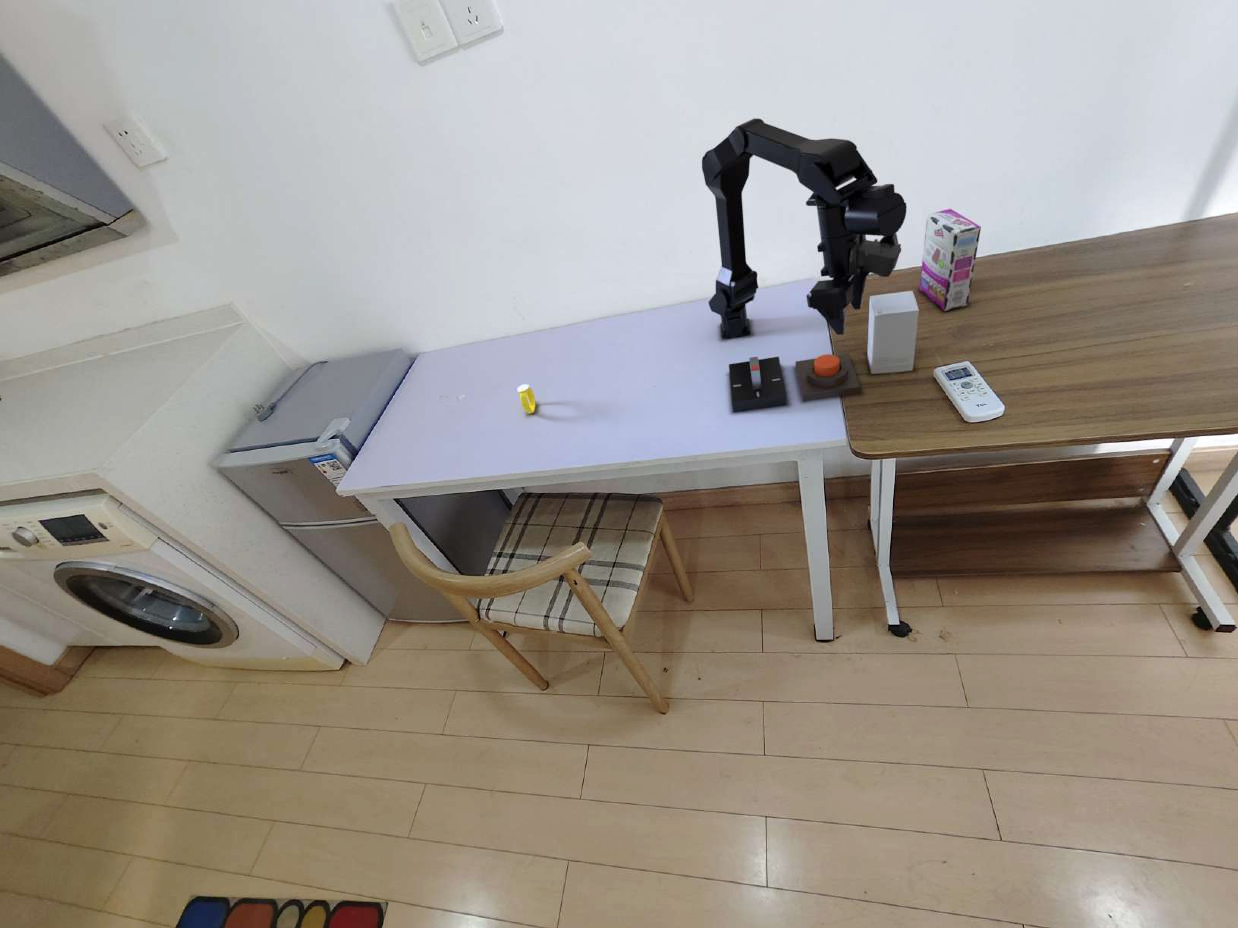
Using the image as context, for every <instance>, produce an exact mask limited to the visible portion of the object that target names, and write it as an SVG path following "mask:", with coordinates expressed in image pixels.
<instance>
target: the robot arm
mask: <svg viewBox="0 0 1238 928" xmlns="http://www.w3.org/2000/svg"><path fill="white" fill-rule="evenodd" d="M753 156H754V157H757V158H760V159H762V160H764V161H767V162H770V163H772V164H774V165H775V166H776V165H777V166H778V167H781V168H784V169H786V170H789V171H790V172H793V173H794V174H795V175H796V177H797V180H798V182H799V184H800V185H802V186H803V187H805V188H806V189H808V190H809V191H811V192H812V193H811V195H810V197H808V198H807V200H806V201H805V205H806V206H807V207H816V213H817V220H818V227H819V235H820V243H818V244H817V246H816V249H817V253H822V258H823V259H822V260H823V267H822V268H821V270H820V277H829V278H830V279H824V280H818V281H817V282H816V283H815V284H814V285H813V287H812V288H811V289H810V291H808V293H807V294H806V302H807V303H806V304H807V307H808V308H810V309H811V308H812V309H813V310H816V311H817V312H818V313H819V314H820V315H821V316H822V317H823V318H824V320H825V321H826V322H827V324H828V325H829V326H830V327H831V329H832V330H833V331H834V333H835V334H836V335H837V336H843V335H844V334H845V330H846V314H847V313H846V312H847V307H848V306H849V305H850V304H851V307H852V308H853V310H856V311H857V310H861V308H862V305H863V298H864V292H865V287H866V281H867V277H868V276H869V275H870V274H875V275H878V276H879V277H882V278H888V277H890V276H891V275H892V272H894V270H895V269H896V266H897V263H898V260H899V257H900V254H901V253H902V244H900V243H899V240H898V235H897V233H898V232H899V230H900V229H901V228H902V226H903V224H904V222H905V220H906V216H907V202H905V199H904V197H903V196H902V195H901V194H900V193H899V192H896V191H895V190H896V189H895V184H894V183H885V184H883V185H876V184H877V183H878V182H879V181H878V178H877V177H876V175H875V173H874V171H873V170H872V169H871V168H870V167H869V165H868V163H867V162H866V160H865V159H864V158H863V156H862V155H861V153H860V152H859V150H858V147H857V145H856V144H855V143H854V142H853V141H851V140H850V139H849V140H848V139H843V138H821V139H810V138H808V137H804V136H802V135H799V134H796V133H794V132H791V131H788V130H785V129H784V128H783V129H782V128H780V127H777V126H775V125H772V124H769V123H766V122H765V121H764V120H763V119H762V118H755V117H753V118H752V119H750V120H747V121H745V122H743V123H741V124H739V125H737V126H735V127H734V129H732V130H731V132H730V133H729V134H728V136H727V137H725V138H724V139H723V140H722V141H720V143H718V144H717V145H716V146H715V147H713V148H711V149H709V150H707V151H706V152H705V153H704V155H703V156H702V159H701V170H702V173H703V174H702V175H703V179H704V184H705V186H706V187H707V188H708V189H709V191H710V192H711V193H712V194H713V196H714V198H715V210H716V219H717V220H716V221H717V229H718V239H719V240H718V241H719V250H720V261H721V266H720V269H719V271H718V274H717V276H716V278H715V293H714V294H713V295H712V297H711V298H710V300H709V301H708V306H709V308H710V311H711V312H713V313H715V314H717V315H719V316H720V321H721V323H720V335H721V336H720V337H721V339H722V340H725V339H731V338H737V337H743V336H750V335H751V333H752V331H751V324H750V319H749V318H748V314H747V304H748V303H750V302H753V301H754V299H755V295H756V293H757V289H759V284H758V272H757V271H756V270H753V269H752V267H750V265H749V264H748V263H747V255H746V254H747V253H746V238H745V223H744V207H743V206H744V205H743V191H744V189H745V186H746V183H747V181H748V179H749V176H750V165H751V159H752V158H753ZM851 180H853V181H851ZM846 183H847V184H846ZM844 184H845V185H844ZM841 185H844V186H841ZM840 186H841V187H840ZM838 187H840V188H838ZM866 236H880V237H881V238H880V240H879V239H878V238H875V239H874V240H868V239H867V237H866Z"/></svg>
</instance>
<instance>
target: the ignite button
mask: <svg viewBox="0 0 1238 928" xmlns="http://www.w3.org/2000/svg"><path fill="white" fill-rule="evenodd" d="M835 355H836V354H830V353H829V354H822V355H818V357H815V358H816V359H815V358H814V359H815V361H814V369H815V373H816V374H817V375H818V376H824V377H827V376H833V375H835V374H837V373H838V372H839V358H838V357H837V356H835Z"/></svg>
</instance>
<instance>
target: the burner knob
mask: <svg viewBox="0 0 1238 928" xmlns="http://www.w3.org/2000/svg"><path fill="white" fill-rule="evenodd" d="M758 360H759V356H752V357H749V358H748V361H750V369H751V377H752V385H753V391H754V390H761V389H762V387H761V378H760V369H759V362H758Z"/></svg>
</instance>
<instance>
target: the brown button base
mask: <svg viewBox="0 0 1238 928" xmlns="http://www.w3.org/2000/svg"><path fill="white" fill-rule="evenodd" d="M849 354H850V353H843V354H841V353H840V354H834V355H835V356H837V357H838V358H839V372H838V373H837V374H835V375H833V376H827V377H824V376H818V375H817V374H816V373H815V369H814V361H815V359H816V358H817V357H815V358H810V359H809V358H808V359H803V360H797V361H795V372H796V376H797V381H798V385H799V389H800V393H801V398H802V401H803V402H807V401H808V402H810V401H816V400H824V399H830V398H839V397H846V396H853V395H859V394H861V386H860V383H859V380H858V377H857V375H856V371H855V368H854V365H853V363H852V359H851V357H850V355H849Z"/></svg>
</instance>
